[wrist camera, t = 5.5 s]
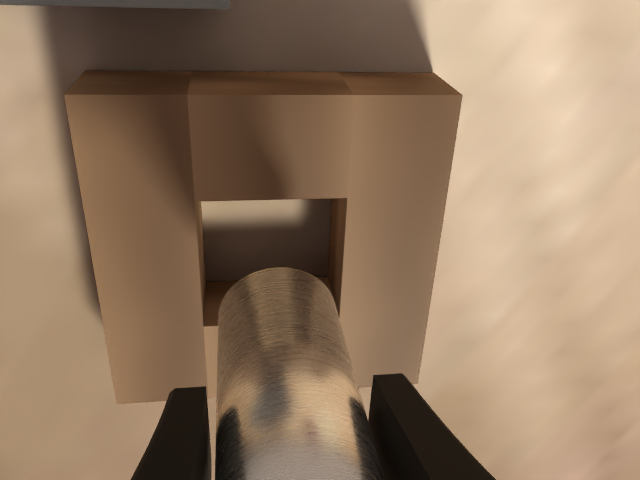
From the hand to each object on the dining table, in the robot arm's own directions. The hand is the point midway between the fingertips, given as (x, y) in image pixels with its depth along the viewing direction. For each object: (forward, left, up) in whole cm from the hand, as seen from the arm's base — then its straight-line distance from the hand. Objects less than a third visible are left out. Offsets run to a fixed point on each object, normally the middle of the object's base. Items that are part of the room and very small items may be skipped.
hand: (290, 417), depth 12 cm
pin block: (0, 0, -8) cm, 8 cm away
